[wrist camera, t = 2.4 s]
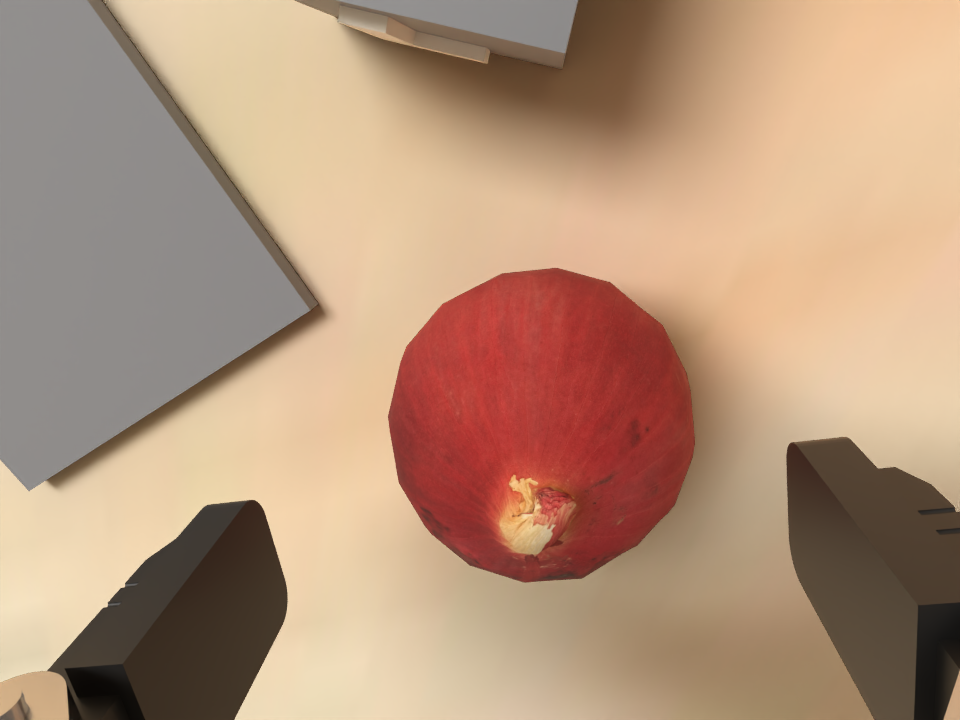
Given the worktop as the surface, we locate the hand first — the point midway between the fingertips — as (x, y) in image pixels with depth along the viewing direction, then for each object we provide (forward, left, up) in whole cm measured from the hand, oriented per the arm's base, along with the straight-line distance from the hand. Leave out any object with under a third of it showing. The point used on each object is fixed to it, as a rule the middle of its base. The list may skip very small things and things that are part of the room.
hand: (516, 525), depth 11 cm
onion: (0, 0, -7) cm, 7 cm away
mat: (+9, -9, -7) cm, 14 cm away
